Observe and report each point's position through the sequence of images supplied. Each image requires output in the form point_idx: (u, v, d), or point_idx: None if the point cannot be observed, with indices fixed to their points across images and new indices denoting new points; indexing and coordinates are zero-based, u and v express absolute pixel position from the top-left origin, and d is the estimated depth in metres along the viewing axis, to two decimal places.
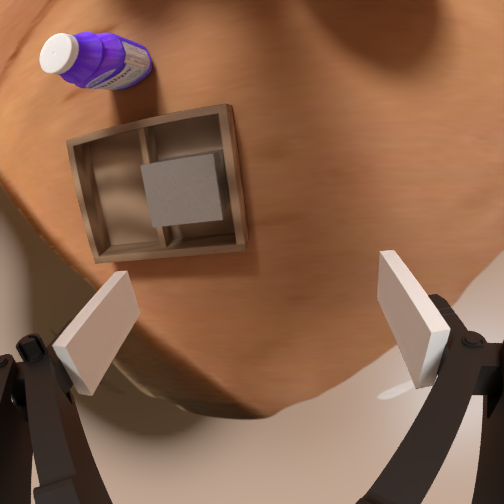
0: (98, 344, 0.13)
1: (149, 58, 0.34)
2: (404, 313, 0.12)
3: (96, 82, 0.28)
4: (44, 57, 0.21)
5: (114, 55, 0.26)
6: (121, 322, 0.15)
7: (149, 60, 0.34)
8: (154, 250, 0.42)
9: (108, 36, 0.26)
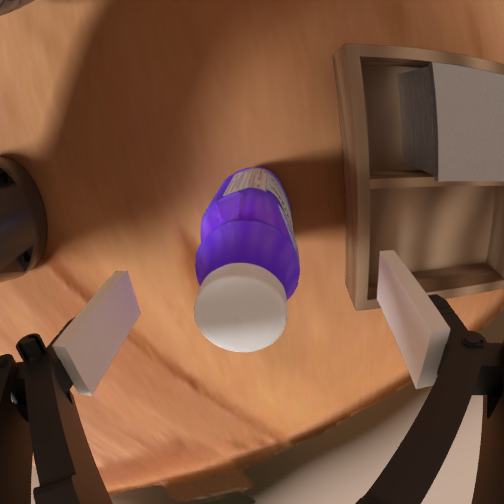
0: (98, 344, 0.13)
1: (247, 169, 0.26)
2: (404, 313, 0.12)
3: (295, 243, 0.20)
4: (243, 342, 0.14)
5: (254, 203, 0.18)
6: (121, 322, 0.15)
7: (252, 168, 0.26)
8: None
9: (211, 216, 0.19)
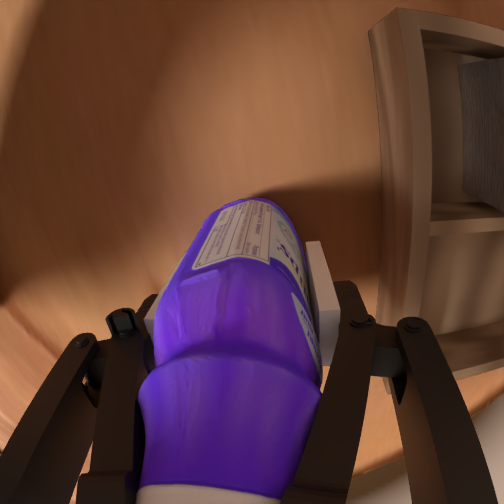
0: None
1: (241, 202, 0.17)
2: (313, 296, 0.14)
3: (319, 353, 0.11)
4: None
5: (246, 301, 0.09)
6: None
7: (248, 201, 0.17)
8: None
9: (166, 317, 0.10)
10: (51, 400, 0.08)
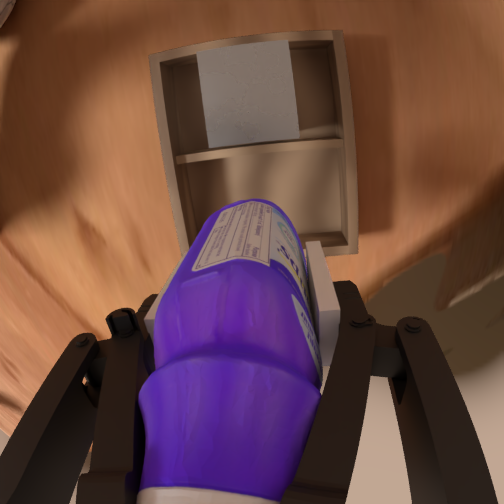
0: None
1: (241, 203, 0.17)
2: (313, 296, 0.14)
3: (319, 355, 0.11)
4: None
5: (246, 303, 0.09)
6: None
7: (248, 202, 0.17)
8: (344, 155, 0.28)
9: (166, 319, 0.10)
10: (51, 400, 0.08)
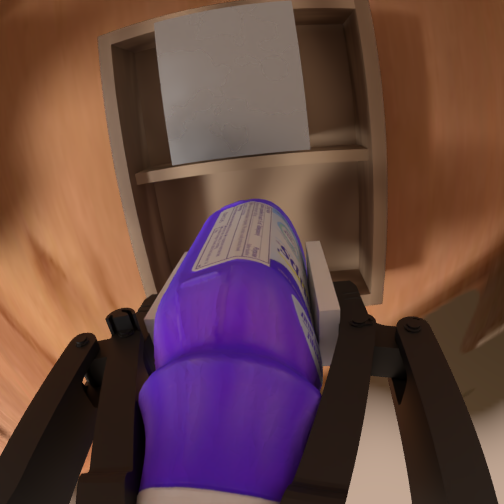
0: None
1: (241, 203, 0.17)
2: (313, 296, 0.14)
3: (319, 355, 0.11)
4: None
5: (246, 303, 0.09)
6: None
7: (248, 202, 0.17)
8: (371, 173, 0.20)
9: (167, 319, 0.10)
10: (51, 400, 0.08)
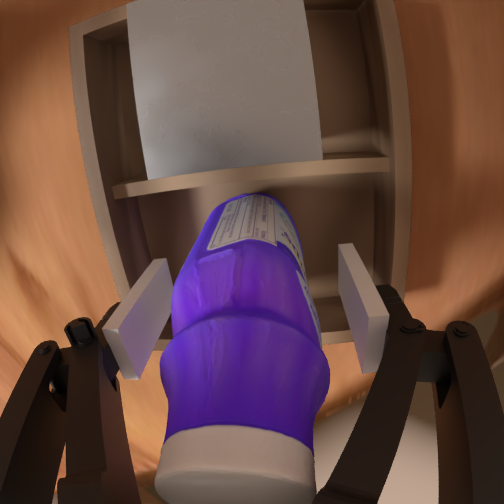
0: (144, 328, 0.14)
1: (245, 195, 0.19)
2: (353, 301, 0.13)
3: None
4: None
5: (259, 274, 0.11)
6: (162, 308, 0.16)
7: (252, 195, 0.19)
8: (392, 187, 0.16)
9: (186, 290, 0.11)
10: (22, 405, 0.08)
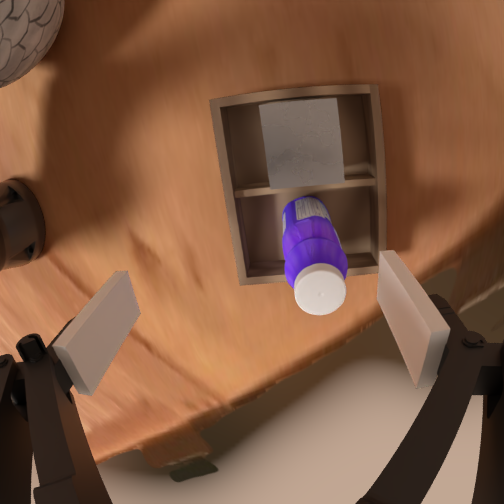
0: (98, 344, 0.13)
1: (304, 197, 0.37)
2: (404, 313, 0.12)
3: None
4: (320, 308, 0.25)
5: (320, 227, 0.29)
6: (121, 322, 0.15)
7: (307, 197, 0.37)
8: (377, 192, 0.34)
9: (292, 234, 0.30)
10: None
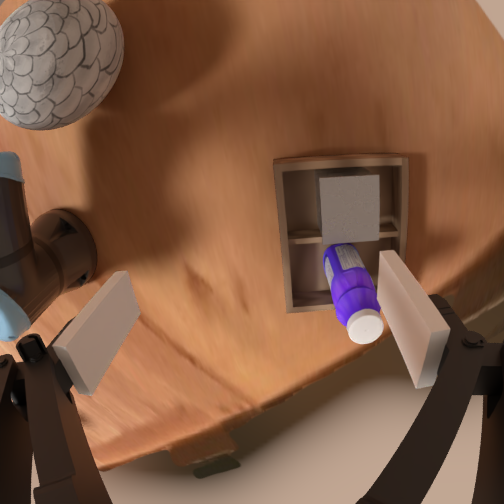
0: (98, 344, 0.13)
1: (341, 244, 0.46)
2: (404, 313, 0.12)
3: None
4: (365, 339, 0.34)
5: (362, 277, 0.37)
6: (121, 322, 0.15)
7: (345, 244, 0.45)
8: (399, 242, 0.43)
9: (341, 282, 0.38)
10: None
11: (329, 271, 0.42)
